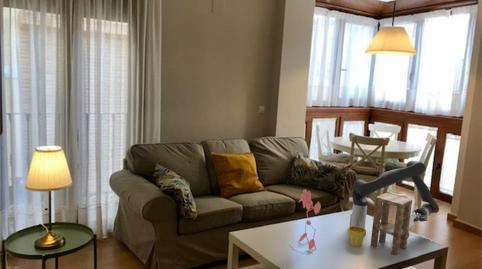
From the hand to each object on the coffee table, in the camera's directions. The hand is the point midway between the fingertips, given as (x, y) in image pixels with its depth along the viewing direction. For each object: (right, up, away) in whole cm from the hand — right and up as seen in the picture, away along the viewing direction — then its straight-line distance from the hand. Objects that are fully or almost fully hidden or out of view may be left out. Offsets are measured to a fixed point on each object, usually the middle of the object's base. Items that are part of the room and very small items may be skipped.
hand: (411, 219), depth 248 cm
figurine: (-72, -13, -17) cm, 75 cm away
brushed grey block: (-2, -5, -1) cm, 5 cm away
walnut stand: (-19, -14, -12) cm, 27 cm away
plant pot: (-38, -13, -10) cm, 42 cm away
